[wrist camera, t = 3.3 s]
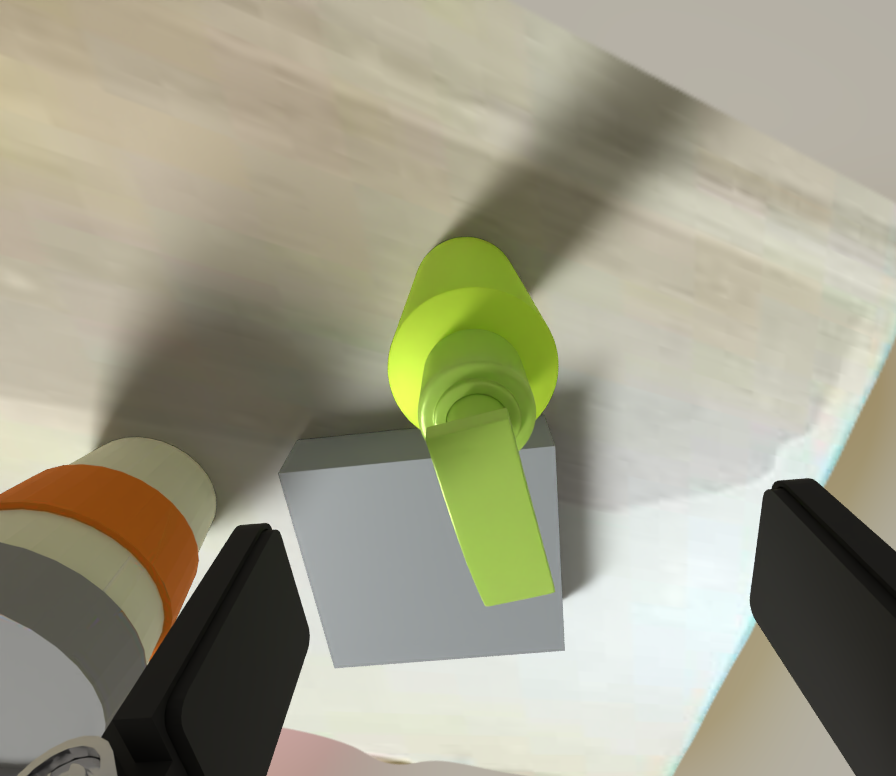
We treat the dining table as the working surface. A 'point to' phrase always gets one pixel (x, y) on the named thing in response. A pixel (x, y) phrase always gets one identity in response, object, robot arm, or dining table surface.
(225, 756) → the robot arm
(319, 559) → the stand
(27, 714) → the reusable coffee cup
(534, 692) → the dining table surface
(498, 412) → the soap dispenser
